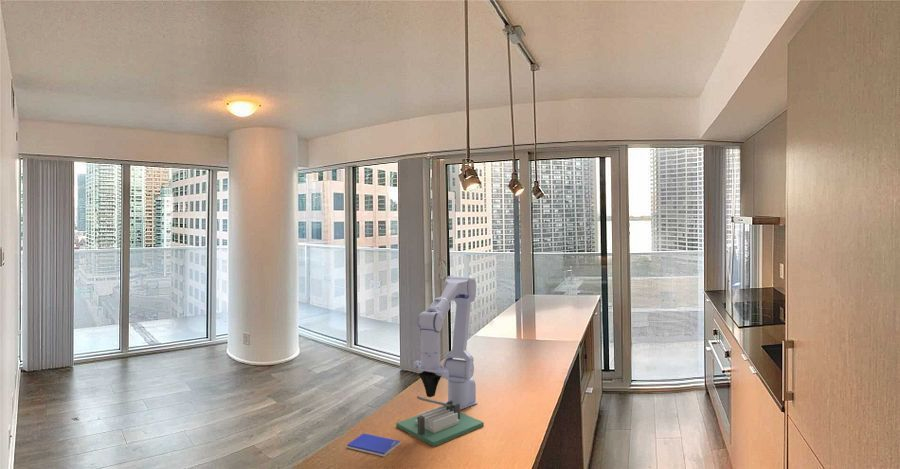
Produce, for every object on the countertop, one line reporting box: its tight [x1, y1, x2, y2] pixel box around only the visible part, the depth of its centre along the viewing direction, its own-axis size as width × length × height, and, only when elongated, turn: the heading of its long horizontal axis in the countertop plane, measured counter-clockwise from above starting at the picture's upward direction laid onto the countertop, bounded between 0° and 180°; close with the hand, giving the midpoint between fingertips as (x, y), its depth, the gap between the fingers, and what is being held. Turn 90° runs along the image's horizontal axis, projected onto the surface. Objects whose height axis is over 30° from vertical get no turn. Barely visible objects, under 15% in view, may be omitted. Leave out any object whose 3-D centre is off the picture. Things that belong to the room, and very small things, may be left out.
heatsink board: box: [395, 401, 485, 447], centre depth 147 cm, size 20×18×6 cm
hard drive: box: [346, 433, 401, 457], centre depth 134 cm, size 2×8×12 cm
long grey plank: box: [416, 395, 454, 408], centre depth 146 cm, size 15×2×1 cm, turn 132°
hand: (430, 396), depth 144 cm, fingers closed
